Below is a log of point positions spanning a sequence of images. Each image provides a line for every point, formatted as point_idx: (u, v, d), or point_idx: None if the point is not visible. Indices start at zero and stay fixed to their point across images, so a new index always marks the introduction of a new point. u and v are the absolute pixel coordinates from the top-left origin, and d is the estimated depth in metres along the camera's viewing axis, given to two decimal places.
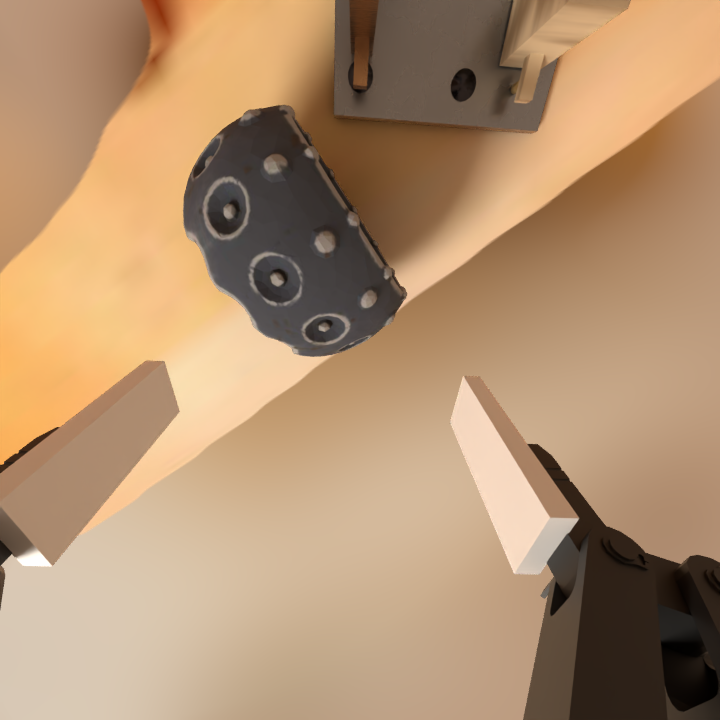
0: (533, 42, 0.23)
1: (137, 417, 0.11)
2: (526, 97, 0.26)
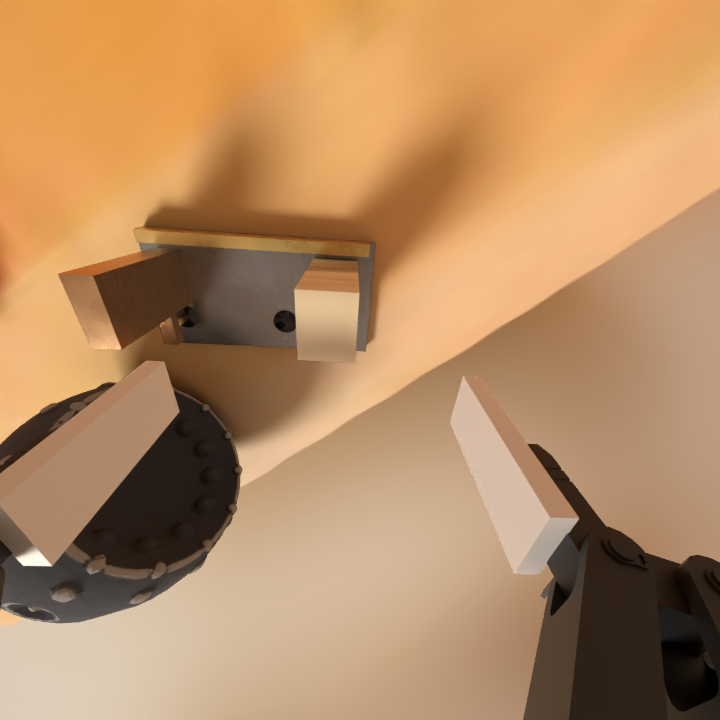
0: None
1: (137, 417, 0.11)
2: None
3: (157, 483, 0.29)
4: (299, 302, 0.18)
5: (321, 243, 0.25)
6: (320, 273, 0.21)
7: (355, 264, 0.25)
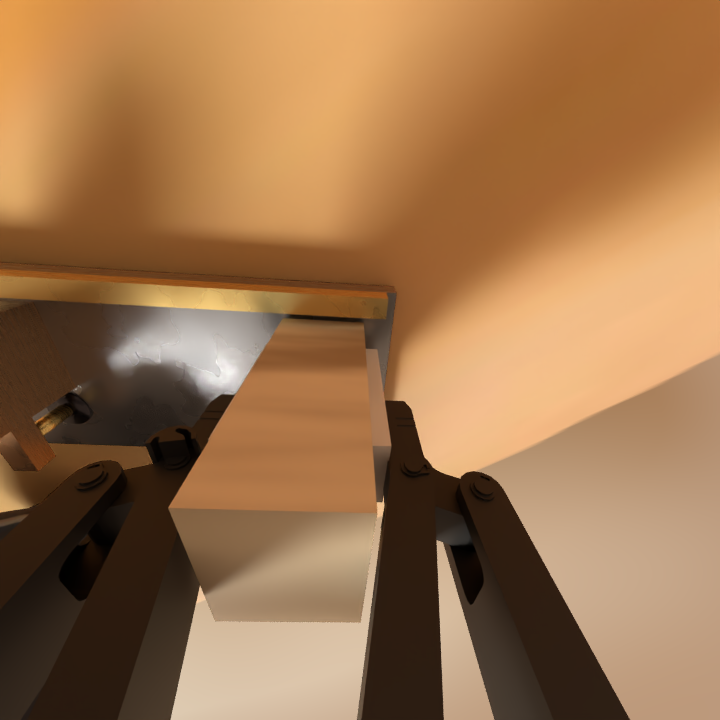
0: None
1: None
2: None
3: None
4: (192, 534, 0.06)
5: (294, 295, 0.13)
6: (281, 382, 0.09)
7: (360, 335, 0.13)
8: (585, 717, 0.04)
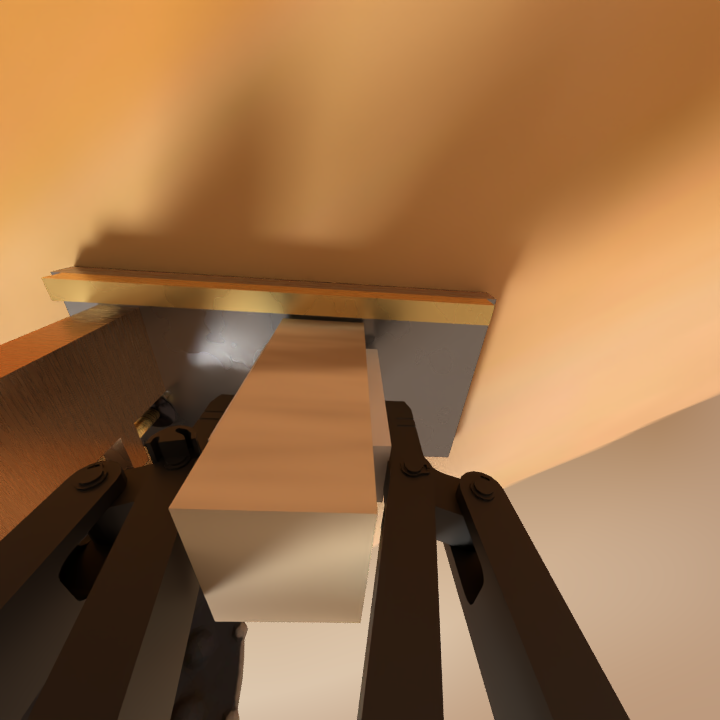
0: None
1: None
2: None
3: None
4: (192, 535, 0.06)
5: (404, 302, 0.13)
6: (281, 382, 0.09)
7: (360, 335, 0.13)
8: (585, 717, 0.04)
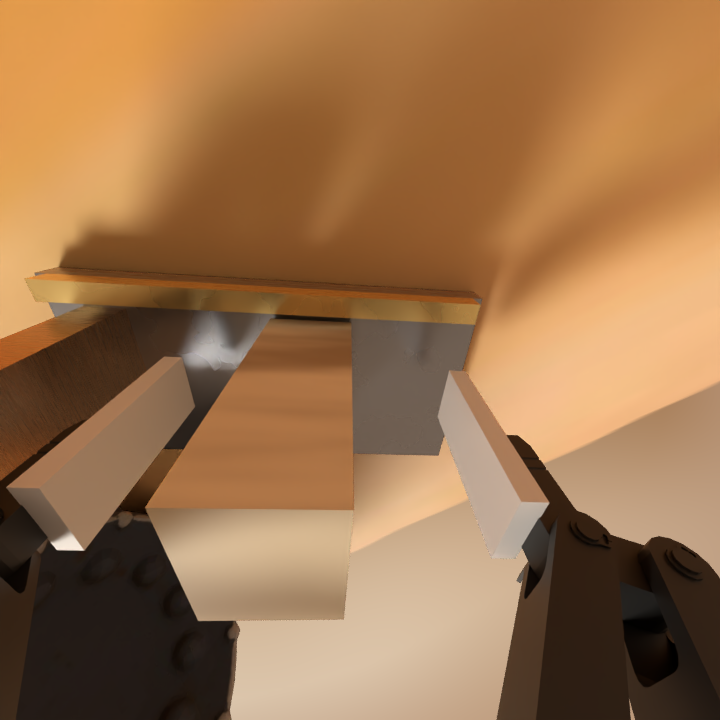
0: None
1: (158, 411, 0.11)
2: None
3: (94, 695, 0.17)
4: (170, 534, 0.06)
5: (390, 301, 0.13)
6: (265, 382, 0.09)
7: (347, 335, 0.13)
8: None
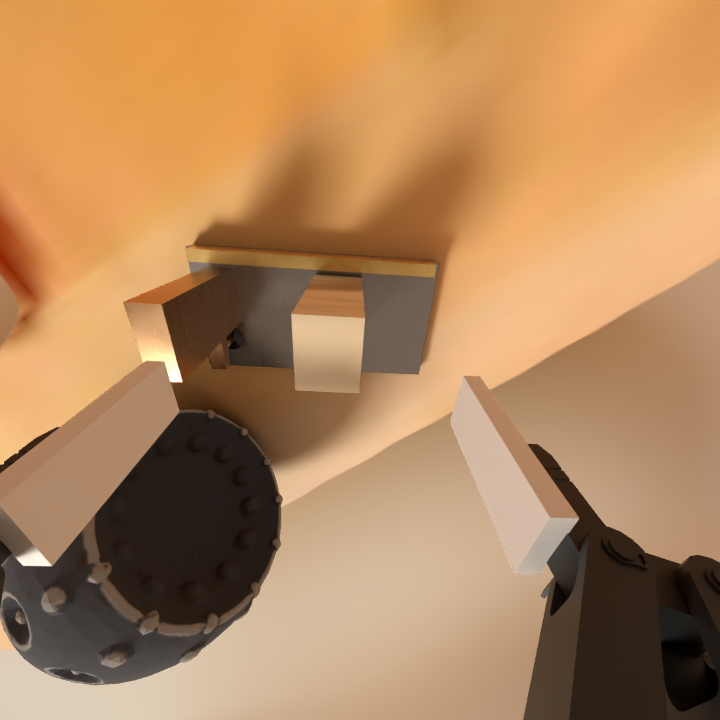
0: None
1: (137, 417, 0.11)
2: None
3: (197, 517, 0.27)
4: (297, 328, 0.16)
5: (384, 263, 0.23)
6: (321, 293, 0.20)
7: (359, 281, 0.23)
8: None
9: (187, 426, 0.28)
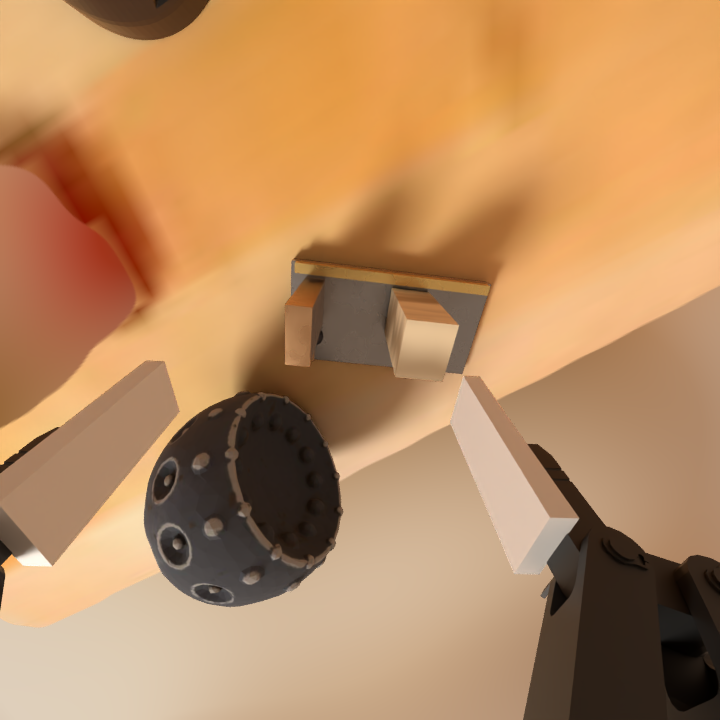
0: None
1: (137, 417, 0.11)
2: None
3: (276, 485, 0.32)
4: (408, 330, 0.22)
5: (450, 282, 0.29)
6: (411, 304, 0.25)
7: (430, 296, 0.29)
8: None
9: (270, 408, 0.33)
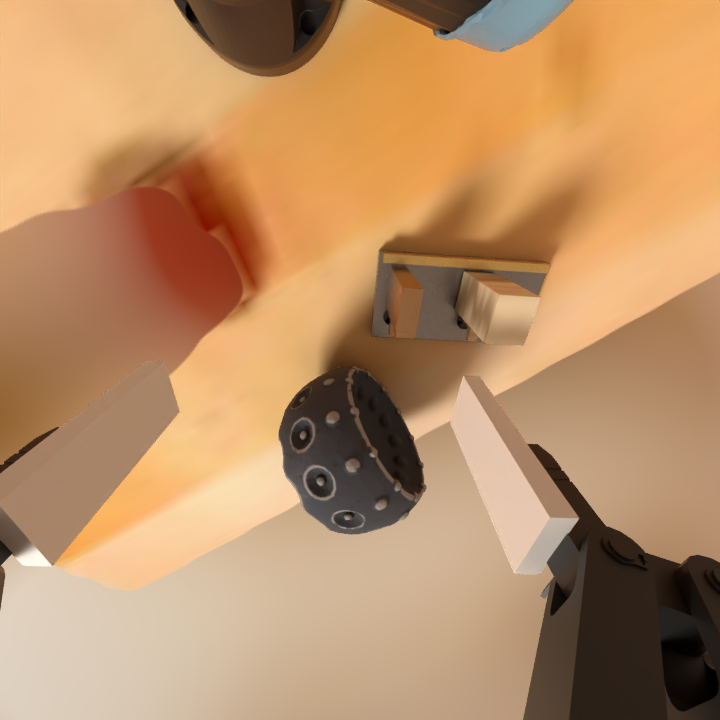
0: None
1: (137, 417, 0.11)
2: (472, 340, 0.37)
3: None
4: (500, 303, 0.27)
5: (515, 263, 0.34)
6: (492, 283, 0.31)
7: (499, 276, 0.34)
8: None
9: (358, 380, 0.39)
